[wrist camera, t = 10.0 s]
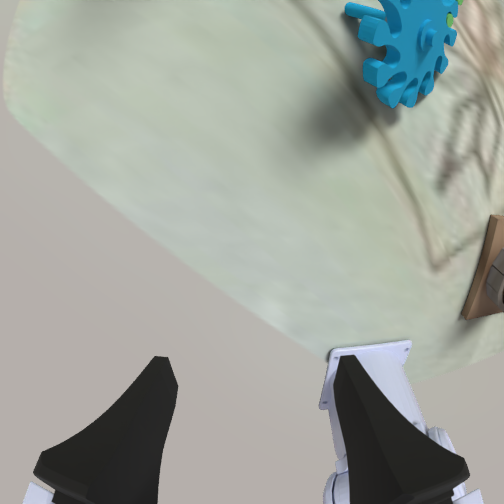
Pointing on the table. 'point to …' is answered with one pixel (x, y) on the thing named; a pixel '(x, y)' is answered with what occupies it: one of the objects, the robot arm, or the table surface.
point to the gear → (406, 45)
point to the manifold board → (488, 275)
